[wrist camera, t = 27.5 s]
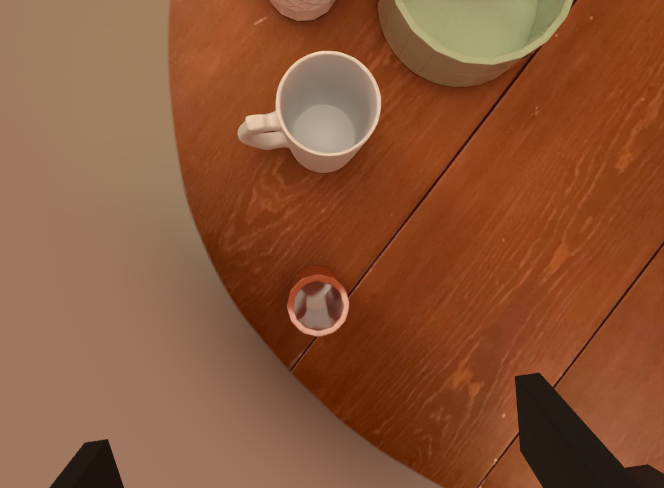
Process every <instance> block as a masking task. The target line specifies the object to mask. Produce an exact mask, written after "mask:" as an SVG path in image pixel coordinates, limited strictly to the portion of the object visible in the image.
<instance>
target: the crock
mask: <svg viewBox="0 0 664 488" xmlns="http://www.w3.org/2000/svg"><path fill="white" fill-rule="evenodd" d="M349 308H350V303H349V299H348V296H347V292H346V289H345V287H344V286H343V284H342V282H341V280H340V279H339V277H338V276H337V275H336V274H335V273H334V272H333V271H332V270H331V269H329V268H327V267H324V266H319V265H314V266H309V267H307V268H304V269H303V270H301V271H300V272H299V273H298V274H297V276H296V277H295V278H294V280H293V284H292V287H291V291H290V295H289V299H288V302H287V309H288V313H289V317H290V320H291V322H292V323H293V324H294V325H295V326H296V327H297V328H298V329H299V330H300V331H301V332H302V333H304V334H308V335H312V336H316V337H321V336H324V335H328V334H332V333H334V332H336V331H337V330H338V329H339V328H340V327H341V326H342V325H343V324H344V323H345V321H346V319H347V315H348V311H349Z"/></svg>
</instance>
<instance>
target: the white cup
mask: <svg viewBox="0 0 664 488" xmlns="http://www.w3.org/2000/svg"><path fill="white" fill-rule="evenodd" d="M269 1H270V3H271V4H272V5H273V6H274V7H275V8H276V9H277V10H278V11H279V13H280V14H281V15H284V16H286V17H289V18H291V19H293V20H296V21H306V20H315V19H316V18H318V17H320V16H322V15H323V14H325V13H327V12H328V11H329V10H330V8H331V7H332V5H333V4H334V2H335V1H336V0H269Z"/></svg>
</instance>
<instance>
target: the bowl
mask: <svg viewBox="0 0 664 488" xmlns="http://www.w3.org/2000/svg"><path fill="white" fill-rule="evenodd" d="M572 2H573V0H377V10H378V17H379V22H380V25H381V28H382V32H383V34H384V36H385V39H386V41H387V43H388V45H389V46H390V48H391V49H392V51H393V52H394V54H395V55H396V56H397V57H398V58H399V60H400V61H401V62H402V63H403V64H404V65H405V66H406V67H408V68H409V69H410V70H411V71H413V72H414V73H416V74H417V75H419V76H420V77H422V78H424V79H426V80H428V81H431V82H434V83H437V84H440V85H445V86H452V87H469V86H474V85H480V84H483V83H486V82H489V81H491V80H494V79H496V78H497V77H499V76H501V75H502V74H504V73H505V72H507V71H508V70H510V69H511V68H513V67H514V66H516V65H517V64H518V63H520V62H521V61H522V60H524V59H525V58H526V57H527V56H529V55H530V54H531V53H533V52H534V51H535V50H537V49H538V48H539V47H540V46H542V45H543V44H544V43H546V42H547V41H548V40H549V39H550V37H551V36H552V35H553V34H554V32H555V31H556V30H557V29H558V28H559V26H560V25H561V24H562V23H563V21H564V20H565V19H566V17H567V15H568V12H569V10H570V7H571V5H572Z"/></svg>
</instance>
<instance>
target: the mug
mask: <svg viewBox="0 0 664 488" xmlns="http://www.w3.org/2000/svg"><path fill="white" fill-rule="evenodd" d="M380 111H381V96H380V91H379V88H378V85H377V83H376V81H375V79H374V77H373V75H372V74H371V73H370V71H369V70H368V69H367V68H366V67H365V66H364V65H363V64H362V63H361V62H359V61H358V60H357V59H355V58H353V57H351V56H349V55H347V54H344V53H340V52H335V51H320V52H315V53H312V54H309V55H307V56H305V57H303V58H301V59H299V60H298V61H297V62H295V63H294V64H293V65H292V66H291V67H290V68H289V69H288V70H287V72H286V73H285V75H284V76H283V78H282V80H281V82H280V84H279V87H278V91H277V95H276V111H274V112H272V113H269V114H266V115H261V114H258V115H250V116H247V117H246V120H245V122H244V123H243V124H242V125H241V126H240V128H239V129H238V138H239V140H240V141H241V142H243V143H244V144H247V145H249V146H252V147H256V148H259V149H263V150H270V149H276V148H282V147H286V148H289V149H290V150H291V151H292V154H293V156H294V157H295V159H296V160H297V161H298V162H299V163H300V164H301V165H302V166H303V167H305V168H307V169H308V170H311V171H314V172H318V173H329V172H333V171H336V170H338V169H340V168H342V167H343V166H345V165H346V164H347V163H348V162H349V161H350V160H351V159H352V157H353V156H354V155H355V154H356V153H357V151H358V150H359V149H360V148H361V147H362V146H363V144H364V143H365V142H366V141H367V140H368V138H369V137H370V136H371V134H372V133H373V131H374V129H375V127H376V125H377V123H378V120H379V116H380ZM267 131H277V132H271V133H262V132H267Z"/></svg>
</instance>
